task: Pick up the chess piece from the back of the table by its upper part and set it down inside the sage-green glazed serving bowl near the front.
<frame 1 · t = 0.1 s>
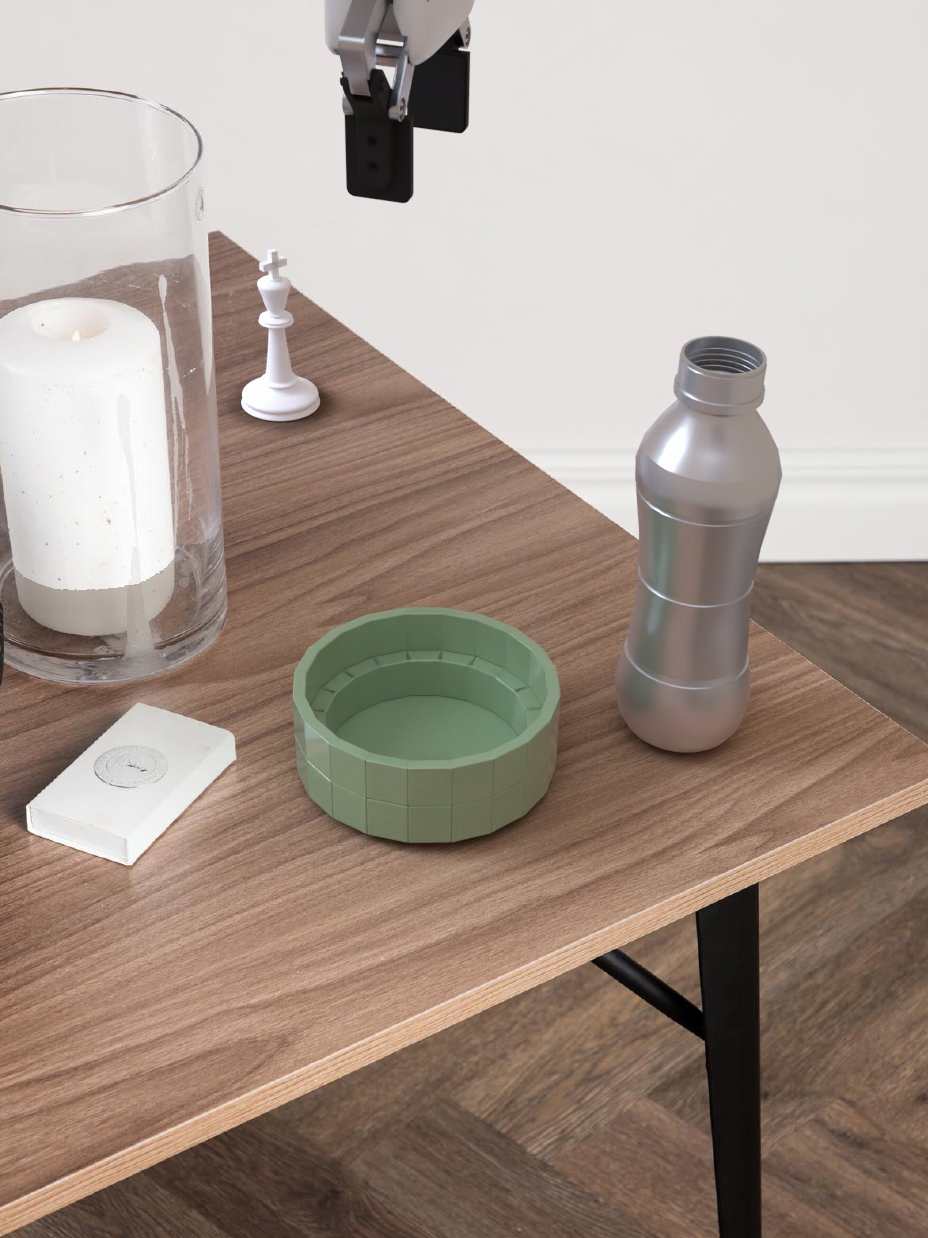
hand: (410, 161, 86), 20 cm above the table, tool pointing down, fingers open, 9 cm apart
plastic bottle: (676, 730, 85), on the table
bowl: (426, 766, 82), on the table
chess piece: (281, 405, 108), on the table
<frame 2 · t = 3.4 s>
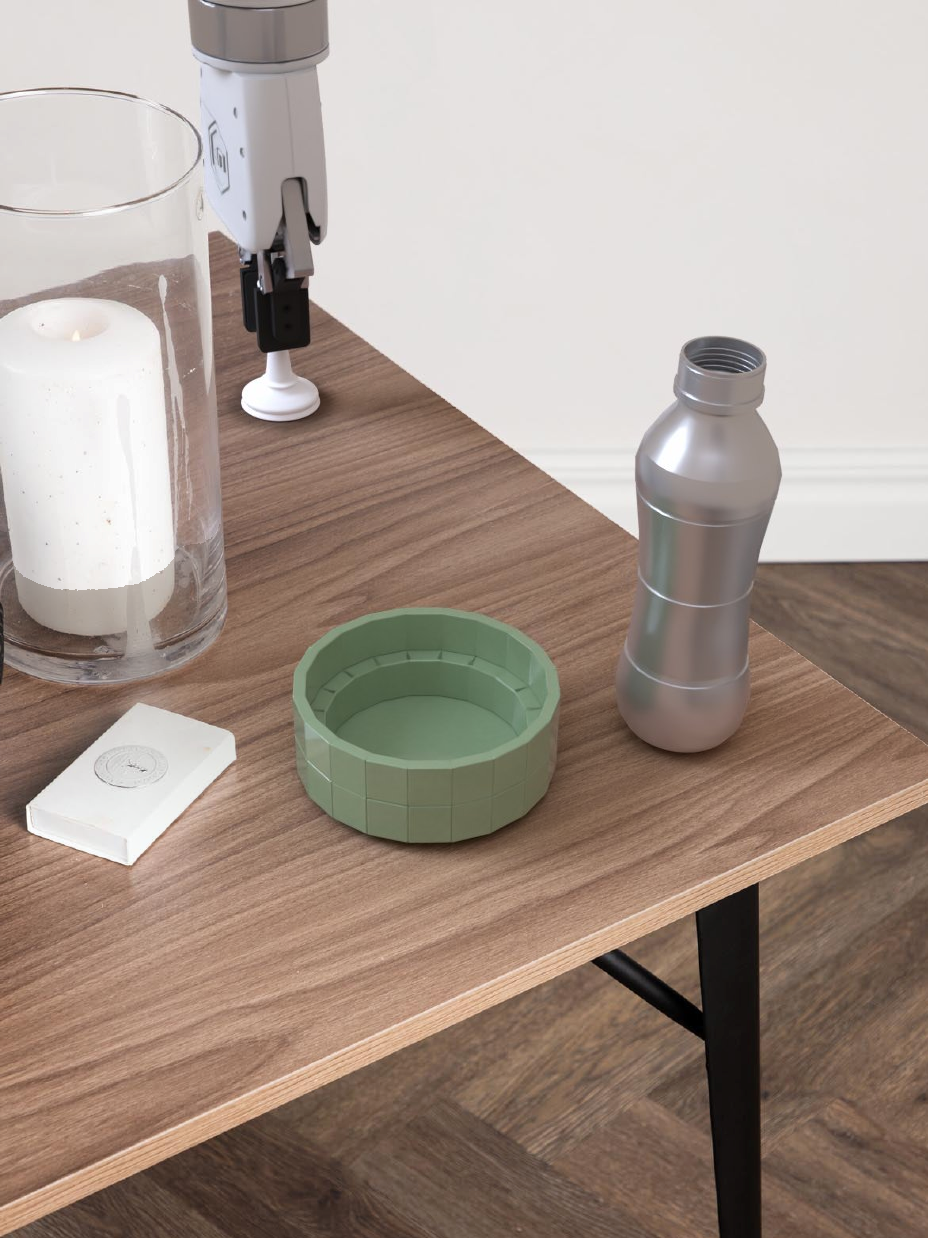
hand: (277, 335, 105), 5 cm above the table, tool pointing down, fingers closed on chess piece
chess piece: (280, 405, 108), on the table, touching gripper
everything else where it was.
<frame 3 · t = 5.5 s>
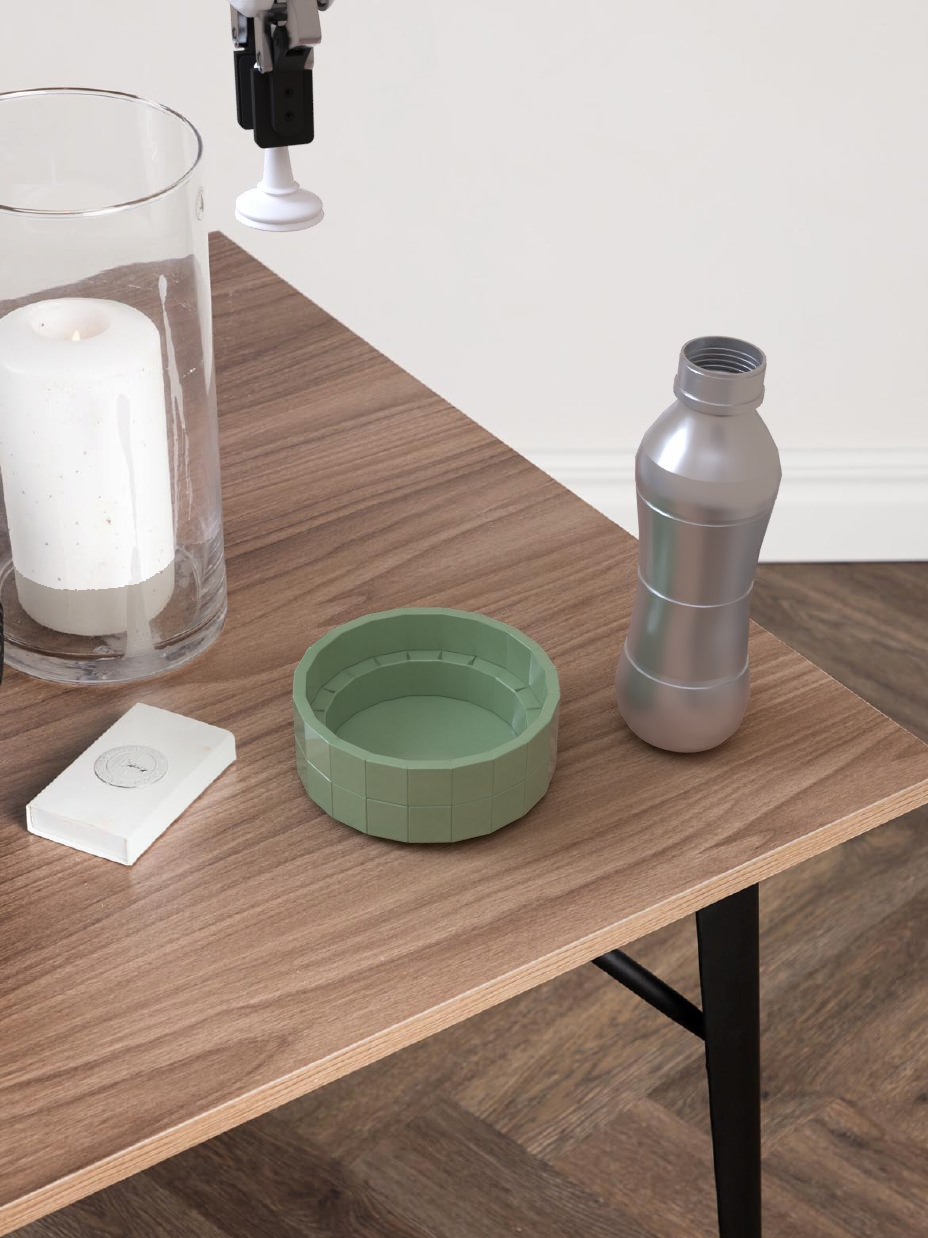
hand: (275, 132, 92), 19 cm above the table, tool pointing down, fingers closed on chess piece
chess piece: (279, 218, 95), point 14 cm above the table, touching gripper
everything else where it was.
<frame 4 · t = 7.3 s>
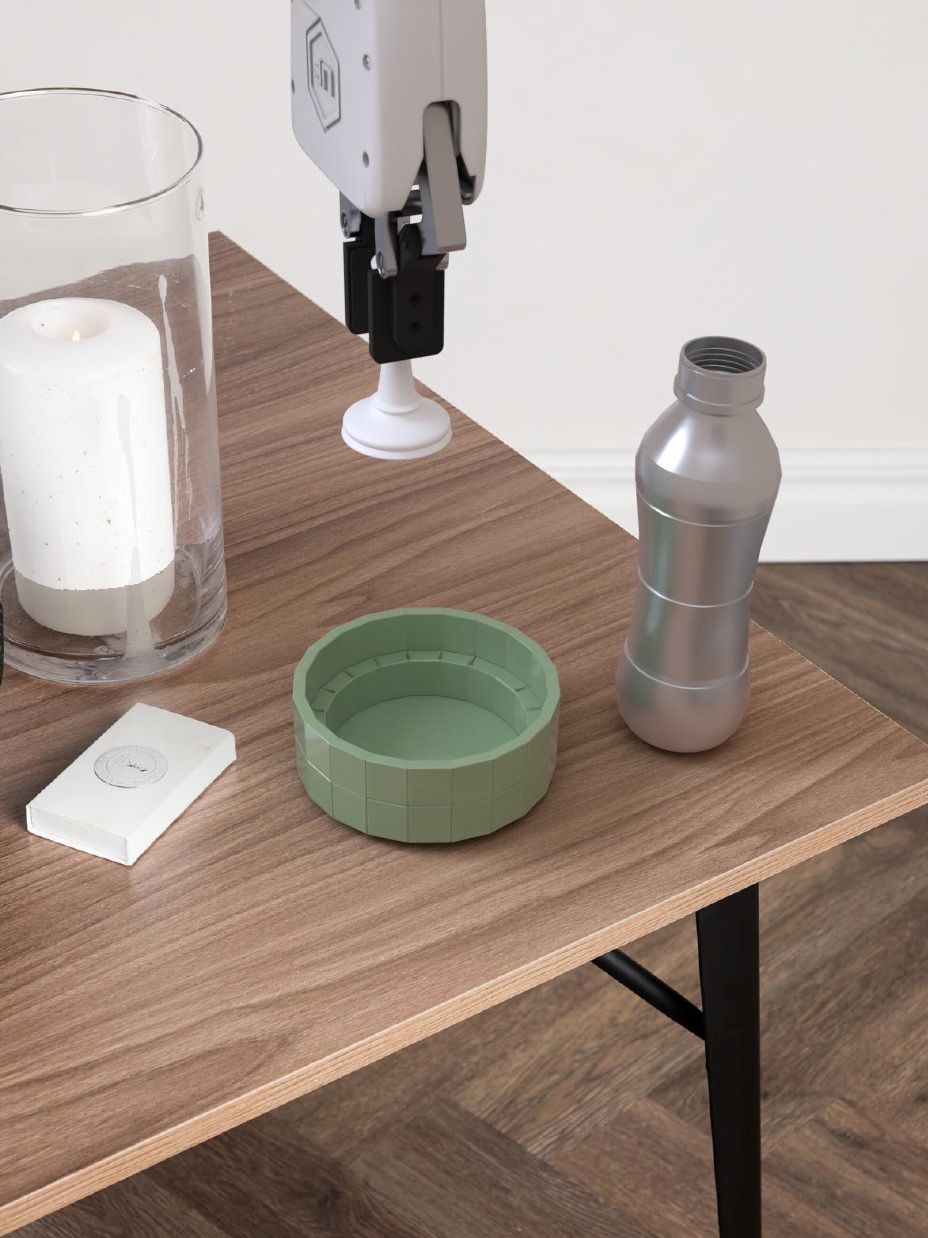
hand: (394, 338, 73), 19 cm above the table, tool pointing down, fingers closed on chess piece
chess piece: (396, 437, 76), point 14 cm above the table, touching gripper
everything else where it was.
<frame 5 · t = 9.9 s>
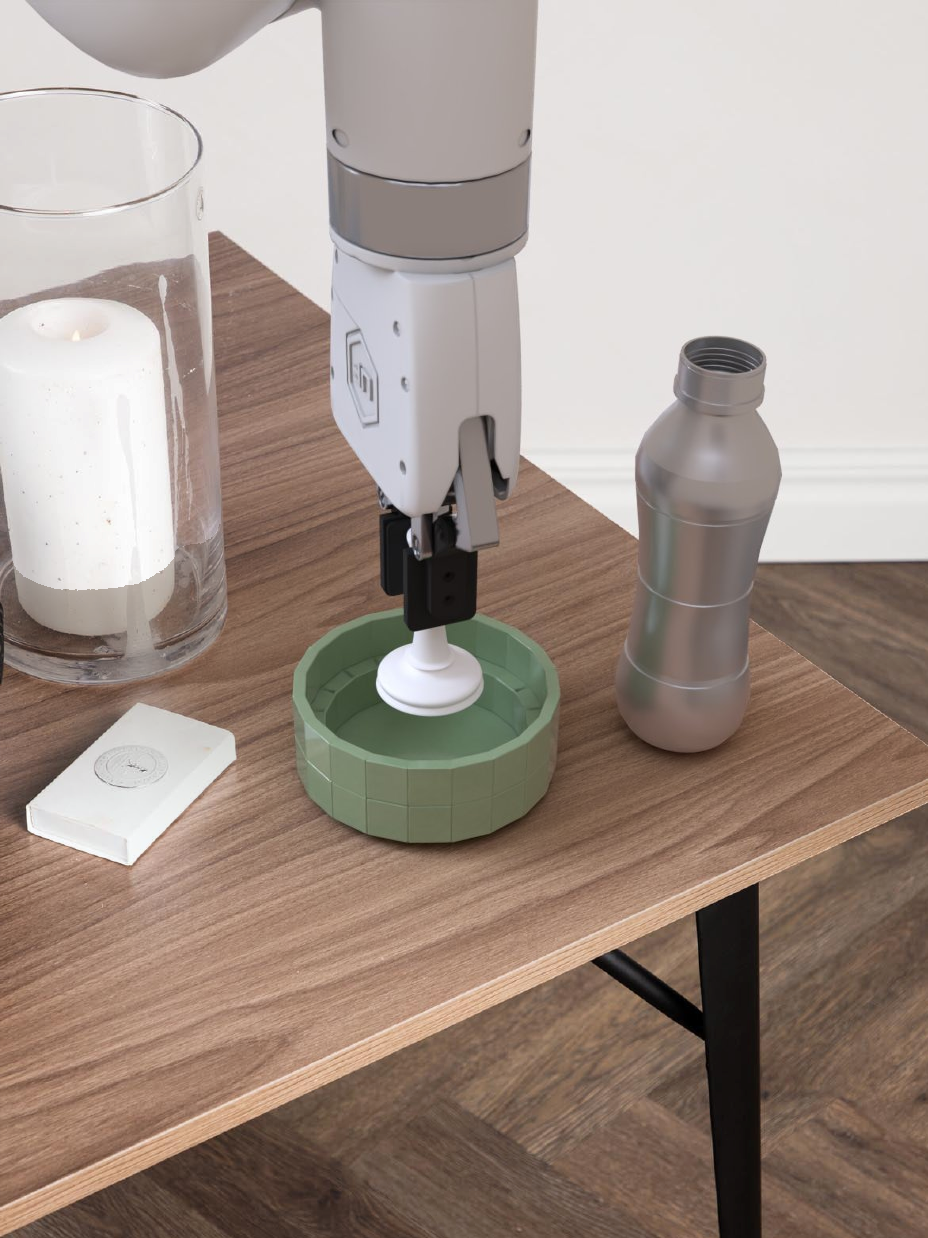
hand: (428, 602, 75), 9 cm above the table, tool pointing down, fingers closed on chess piece
chess piece: (429, 687, 79), point 5 cm above the table, touching gripper
everything else where it was.
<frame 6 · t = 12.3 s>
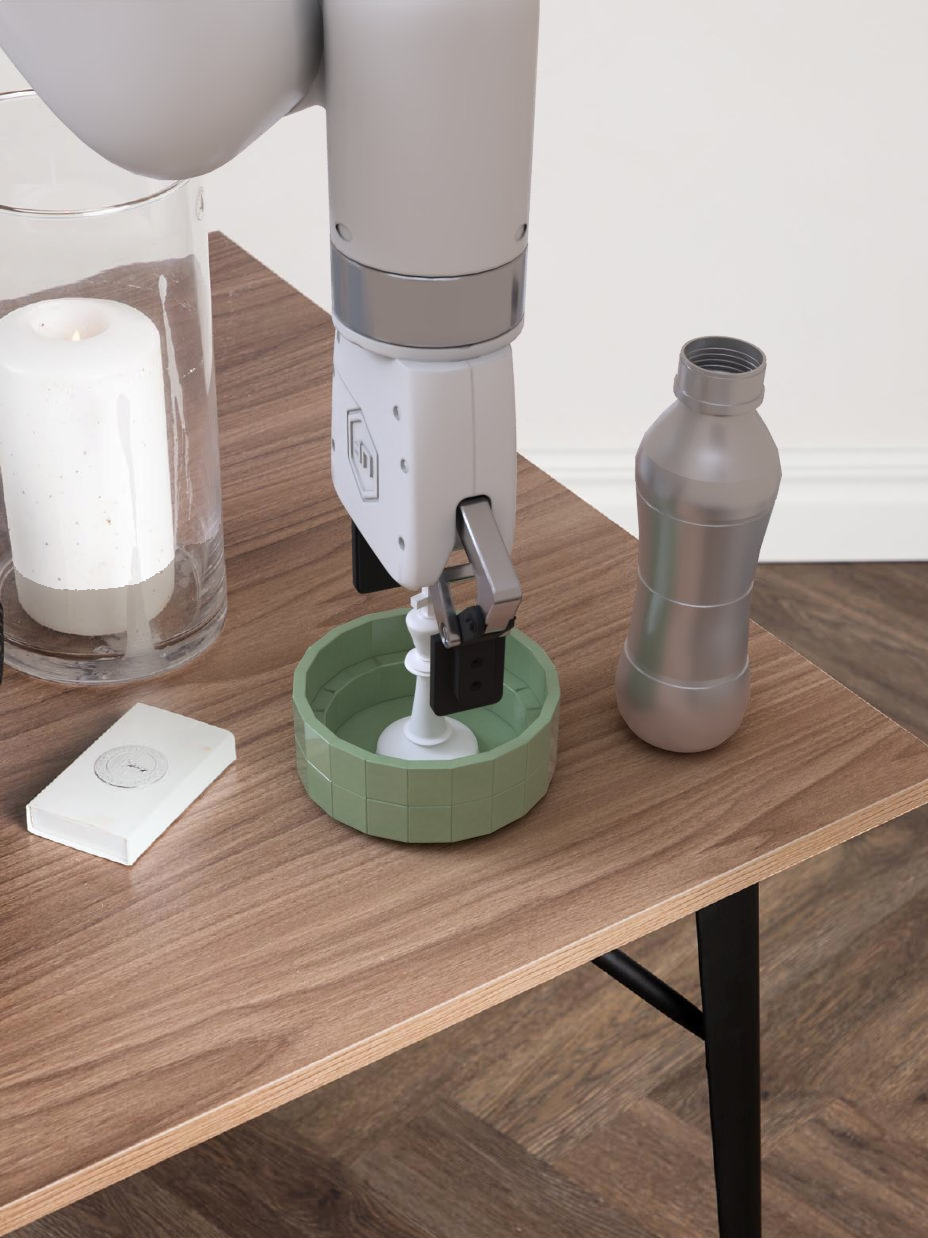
hand: (424, 643, 77), 7 cm above the table, tool pointing down, fingers open, 9 cm apart
chess piece: (427, 759, 81), resting on bowl
everything else where it was.
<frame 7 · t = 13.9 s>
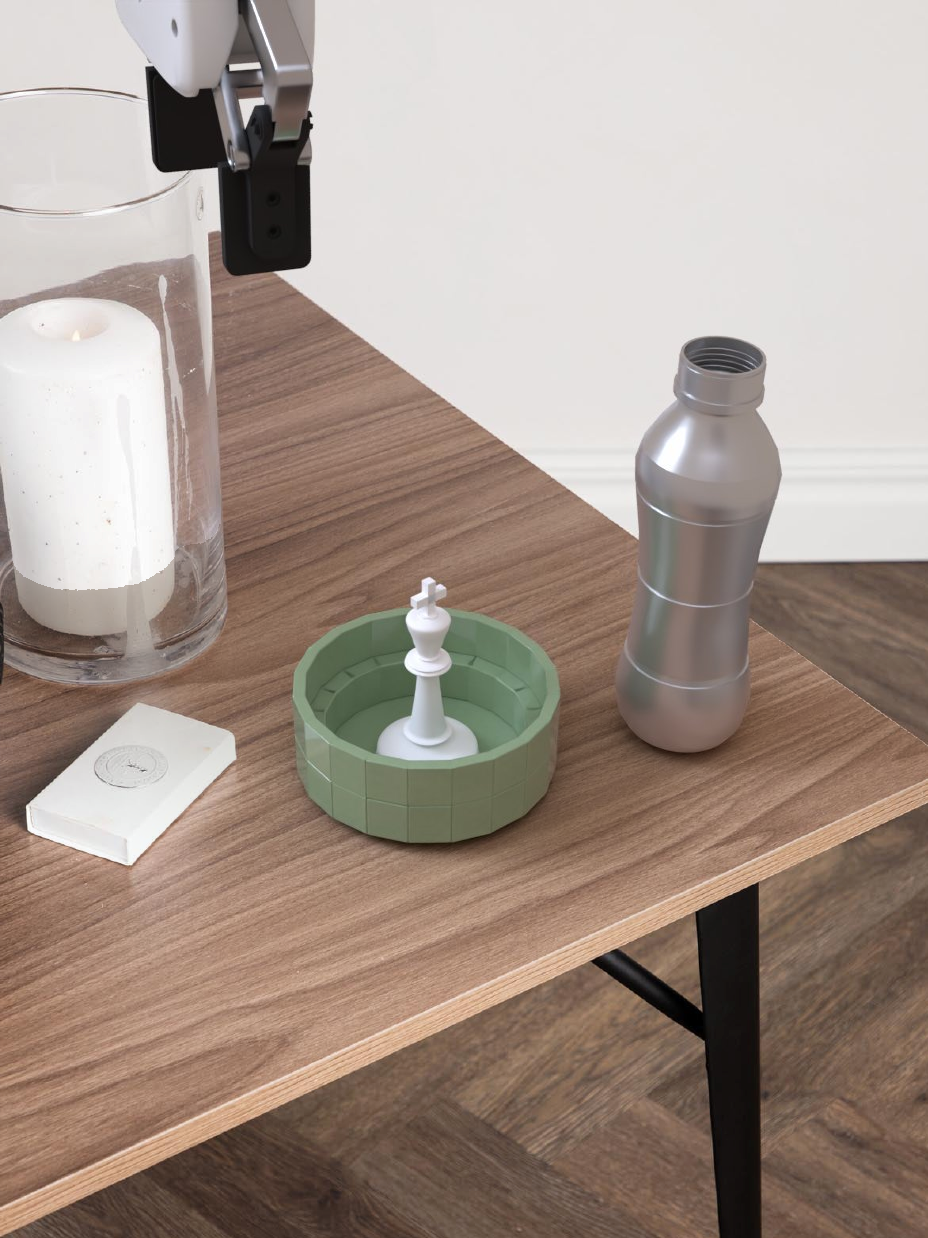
hand: (228, 215, 66), 26 cm above the table, tool pointing down, fingers open, 9 cm apart
nothing on the table moved.
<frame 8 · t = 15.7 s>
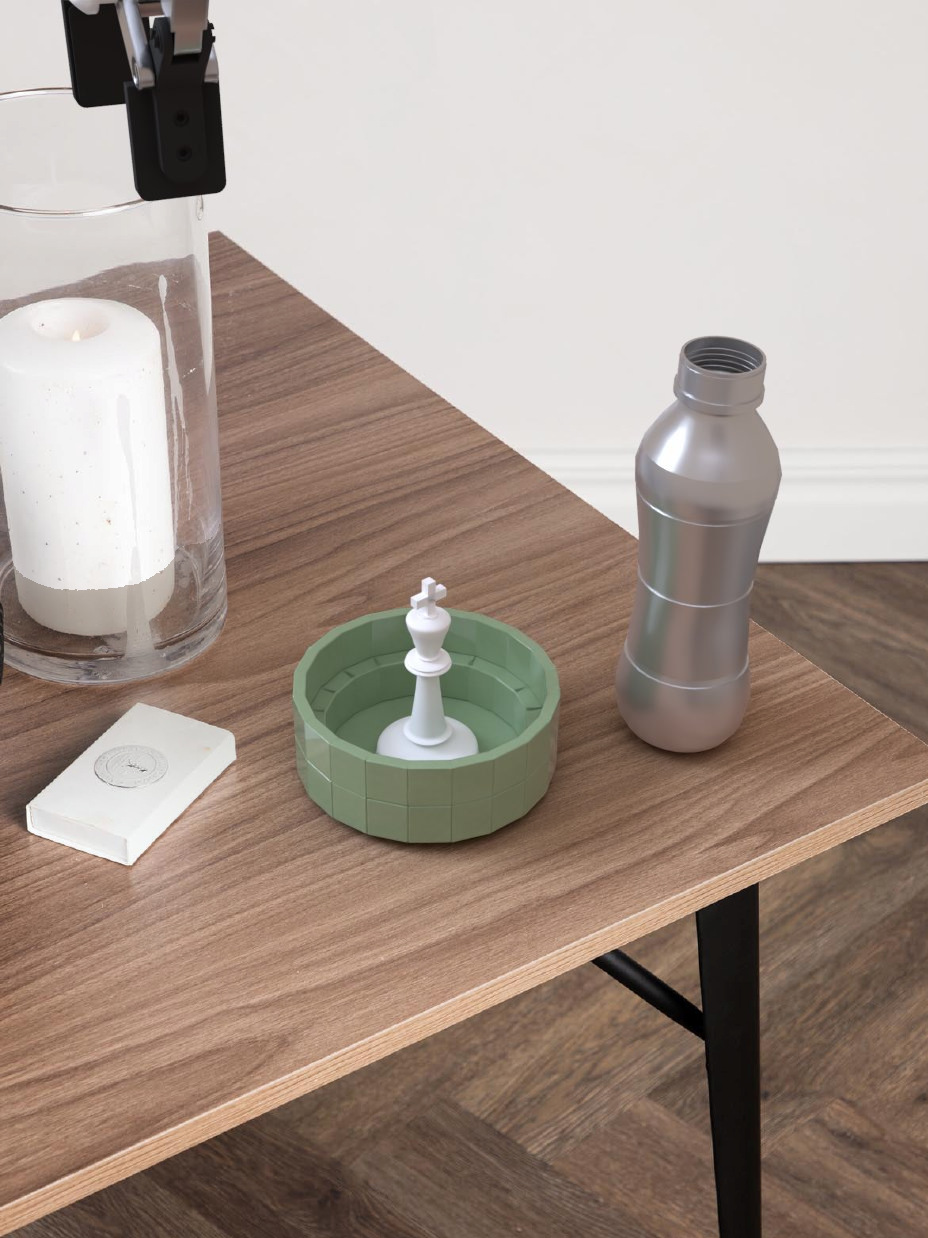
hand: (147, 145, 65), 28 cm above the table, tool pointing down, fingers open, 9 cm apart
nothing on the table moved.
at the end: chess piece inside the target area in the bowl (0.1 cm from its centre), point 0.4 cm above the bowl's base; the gripper is holding nothing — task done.
